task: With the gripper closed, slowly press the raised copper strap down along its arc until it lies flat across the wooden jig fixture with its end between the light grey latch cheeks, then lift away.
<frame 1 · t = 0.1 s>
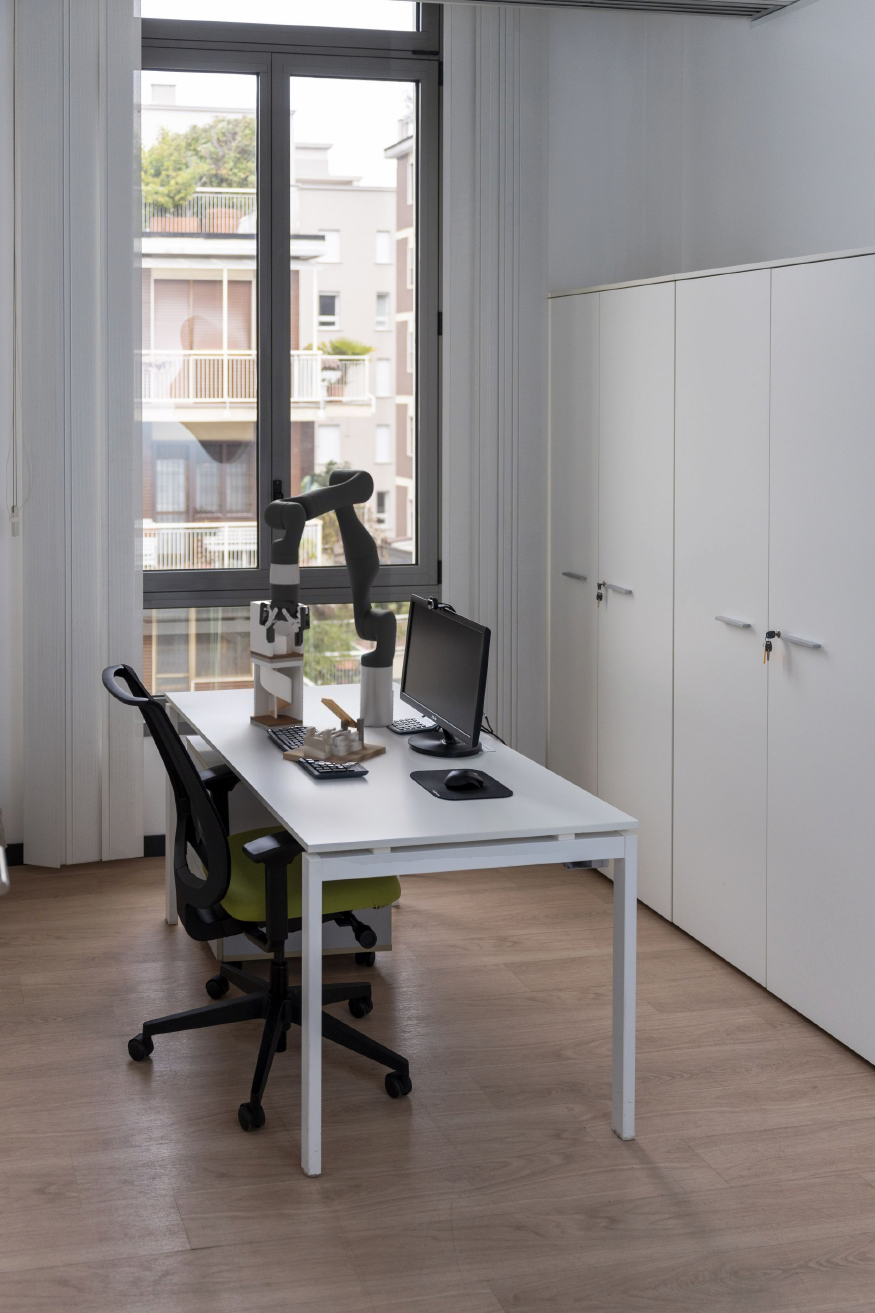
hand: (284, 644, 338), 29 cm above the table, tool pointing down, fingers open, 8 cm apart
display case: (276, 725, 377), on the table
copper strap: (340, 713, 344), point 11 cm above the table, hinge at 35.0°
wooden jig fixture: (335, 755, 344), on the table
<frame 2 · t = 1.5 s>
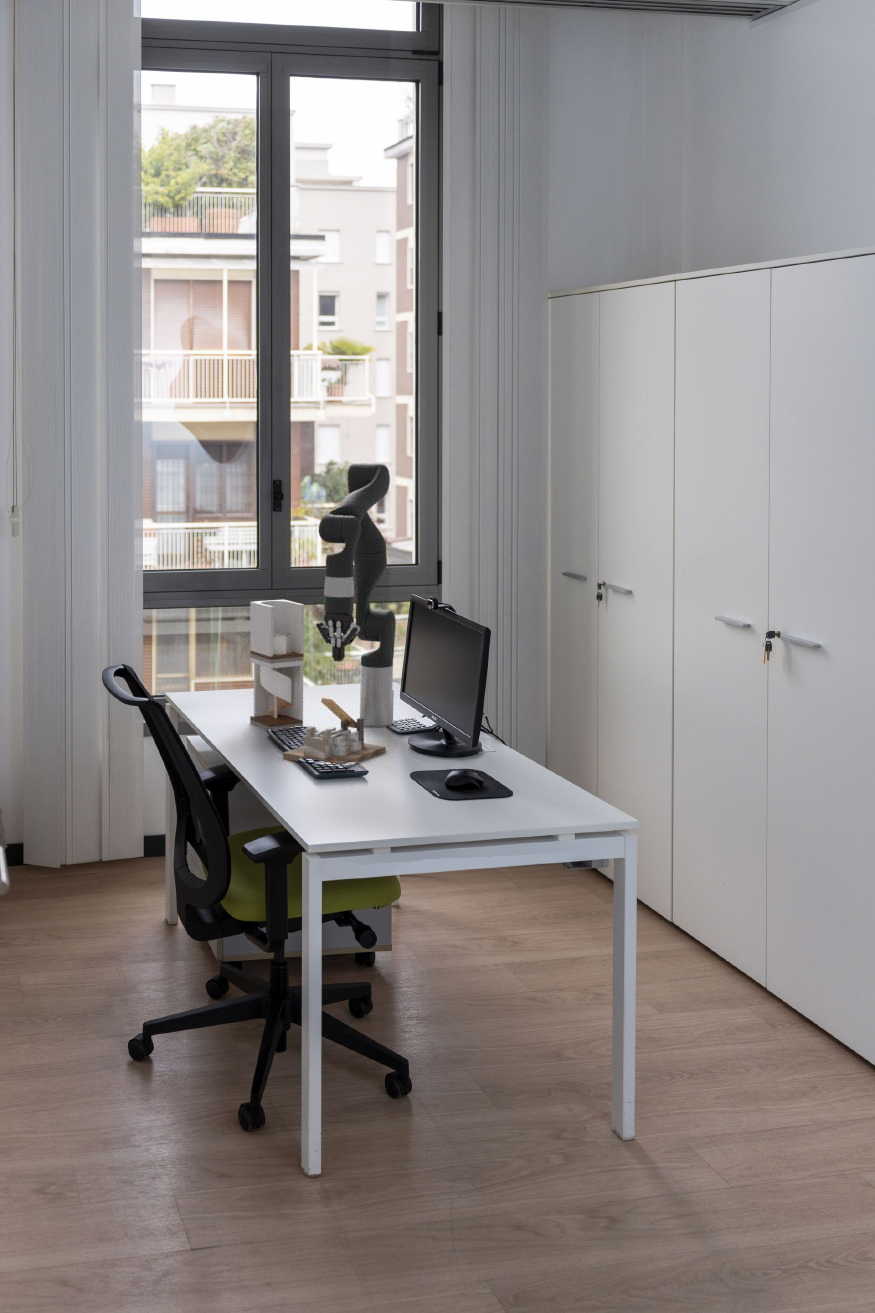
hand: (338, 660, 341), 25 cm above the table, tool pointing down, fingers closed
nothing on the table moved.
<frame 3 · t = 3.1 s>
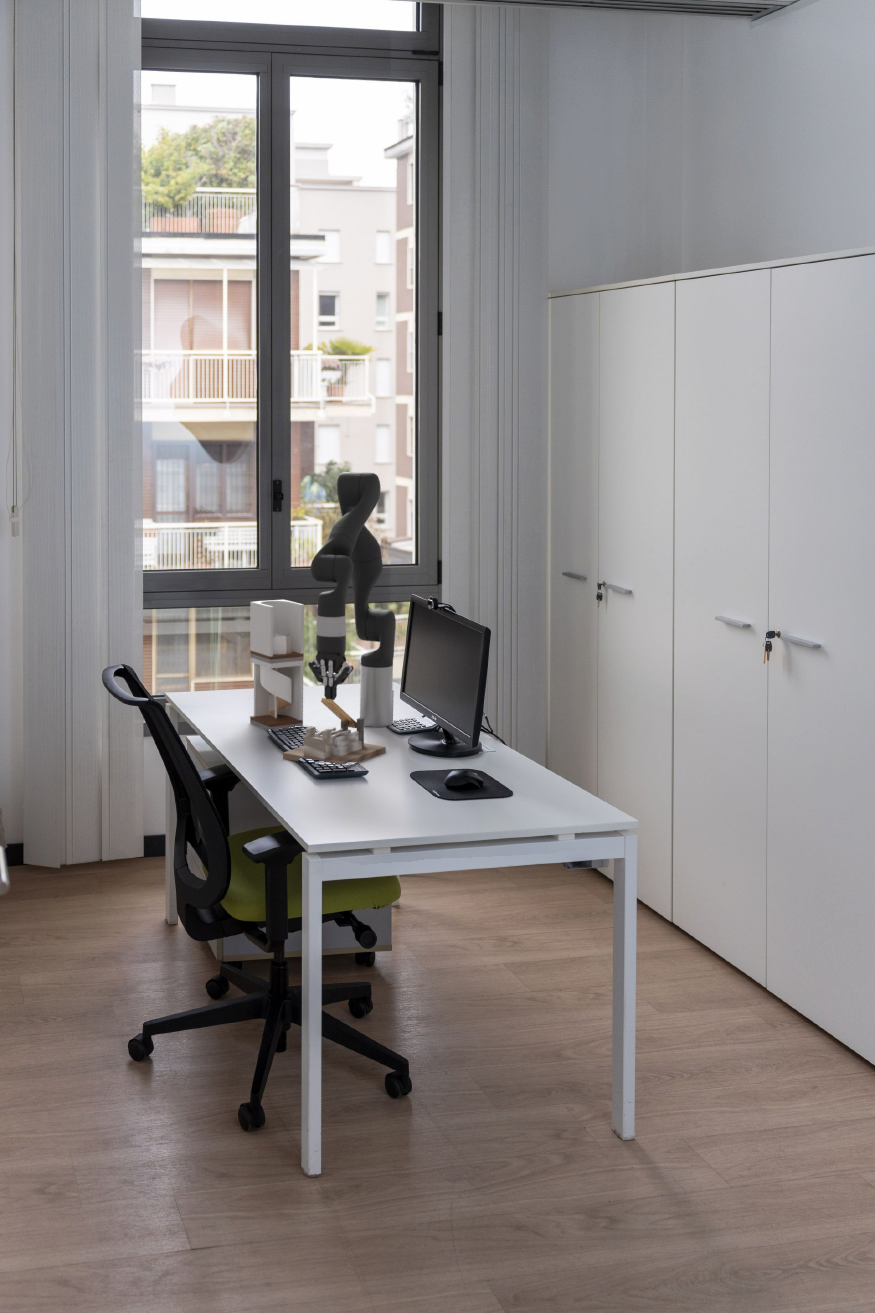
hand: (330, 699, 340), 15 cm above the table, tool pointing down, fingers closed
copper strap: (340, 713, 344), point 11 cm above the table, hinge at 35.0°, touching gripper
everything else where it was.
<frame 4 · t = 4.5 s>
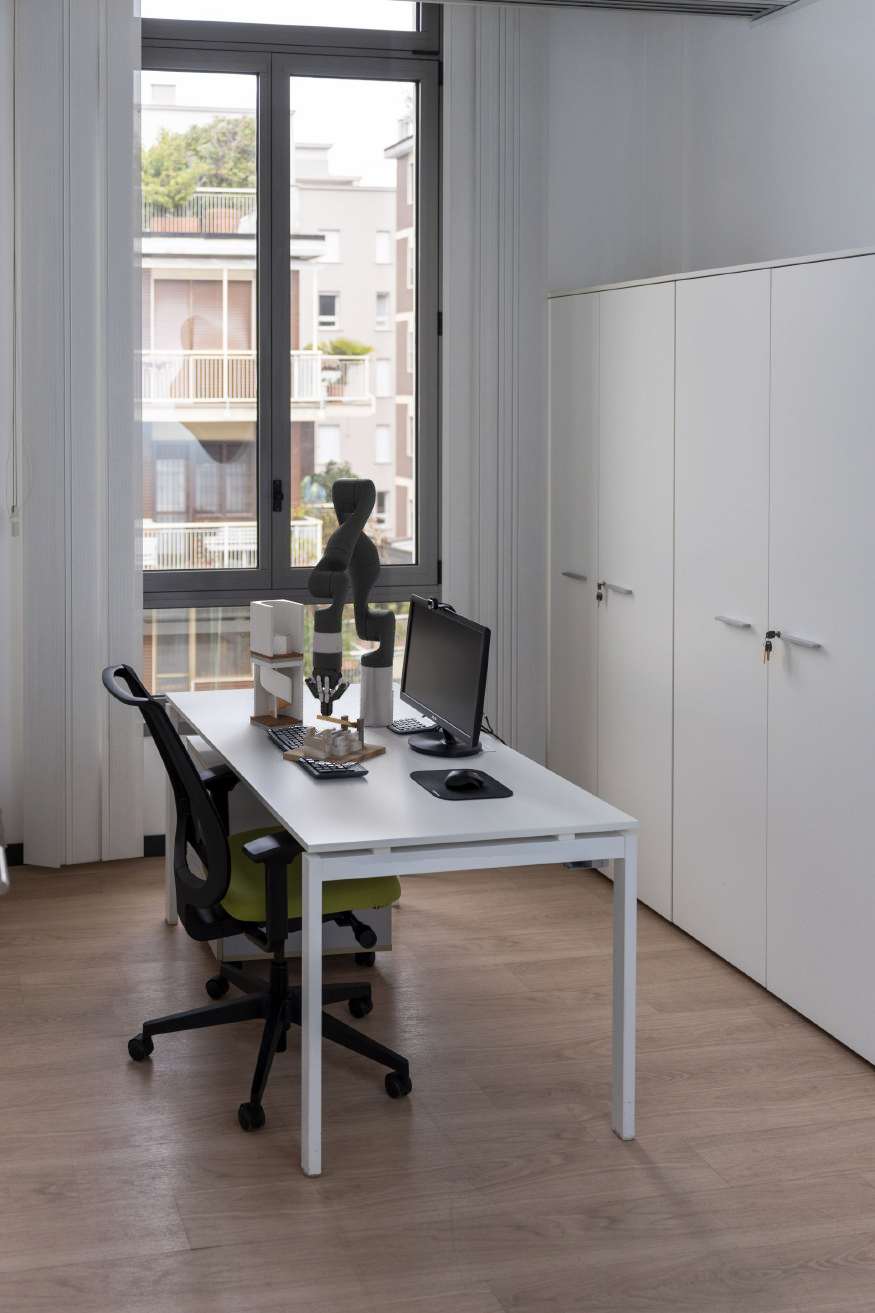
hand: (326, 716, 339), 11 cm above the table, tool pointing down, fingers closed
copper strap: (338, 721, 344), point 9 cm above the table, hinge at 17.6°, touching gripper
everything else where it was.
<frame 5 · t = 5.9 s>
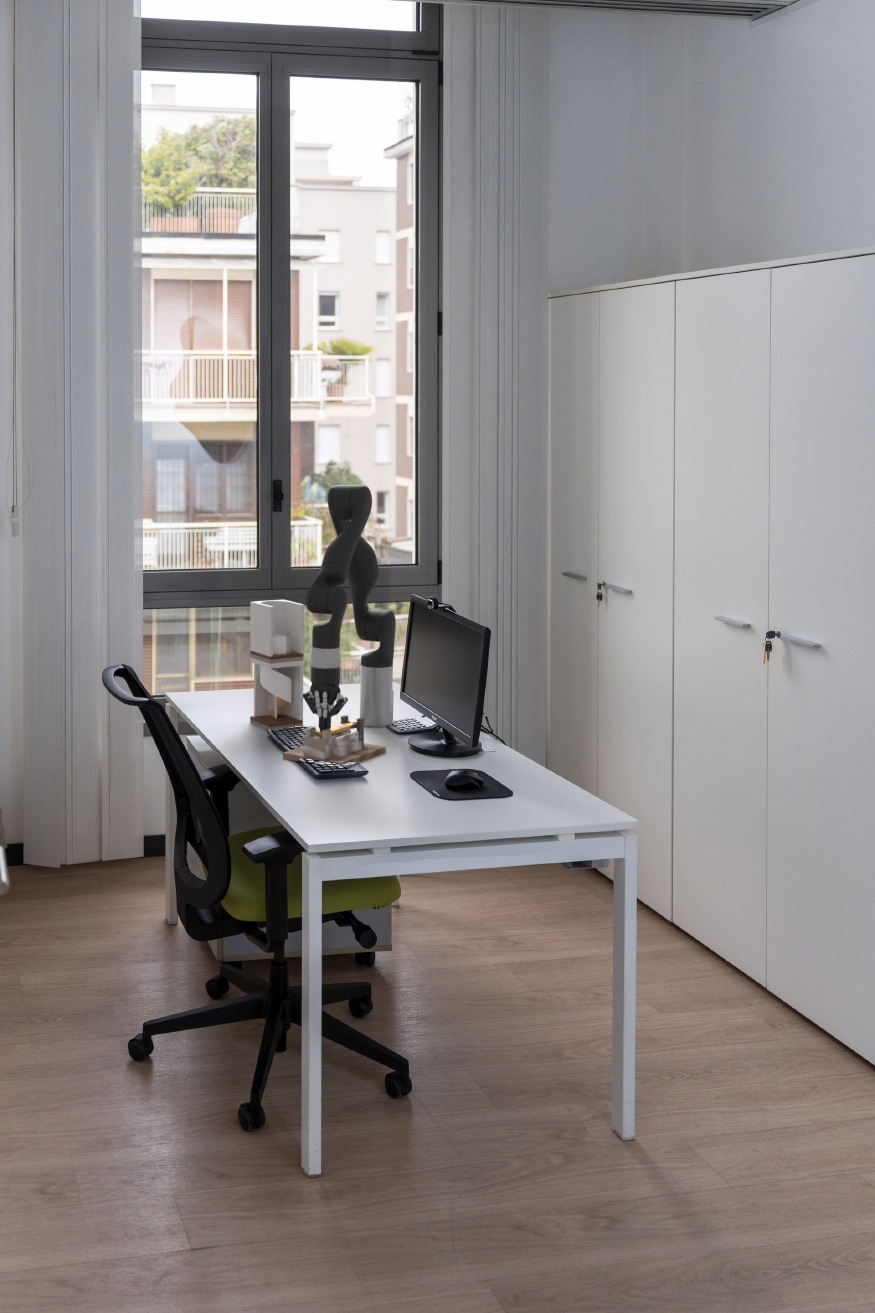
hand: (324, 731, 339), 7 cm above the table, tool pointing down, fingers closed
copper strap: (337, 729, 344), point 7 cm above the table, hinge at 1.1°, touching gripper
everything else where it was.
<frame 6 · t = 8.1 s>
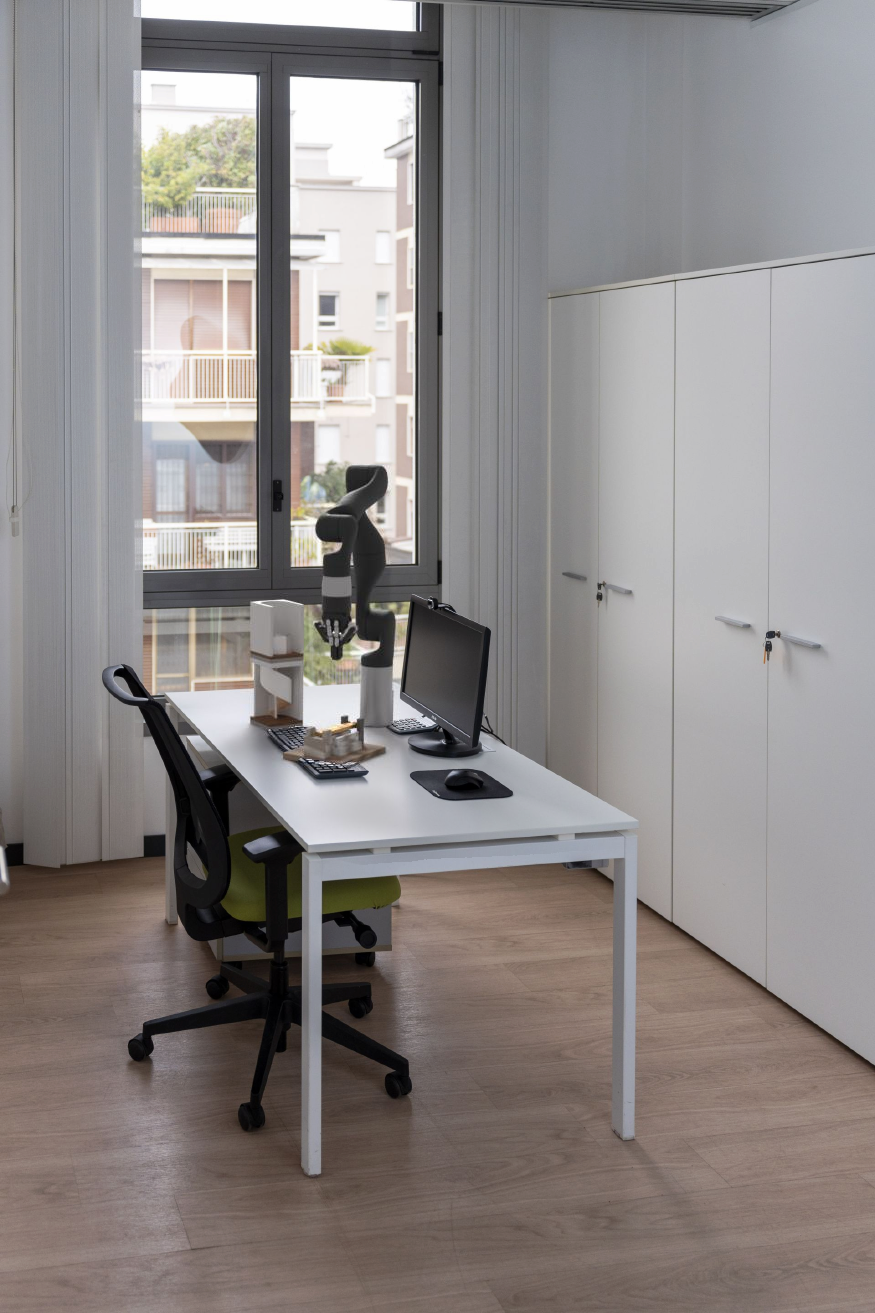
hand: (336, 659, 340), 25 cm above the table, tool pointing down, fingers closed
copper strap: (337, 729, 344), point 7 cm above the table, hinge at 1.0°
everything else where it was.
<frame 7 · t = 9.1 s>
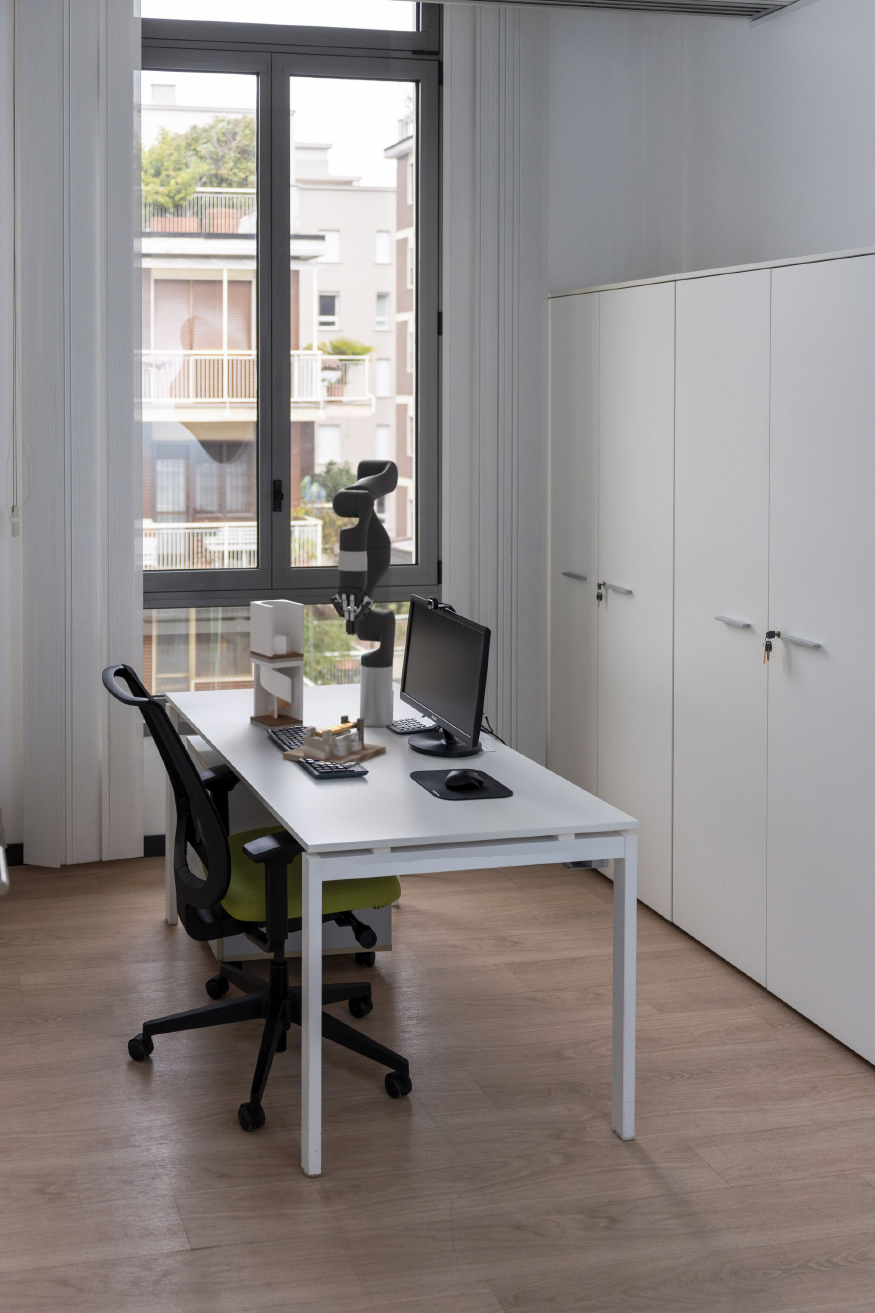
hand: (351, 634, 345), 31 cm above the table, tool pointing down, fingers closed
nothing on the table moved.
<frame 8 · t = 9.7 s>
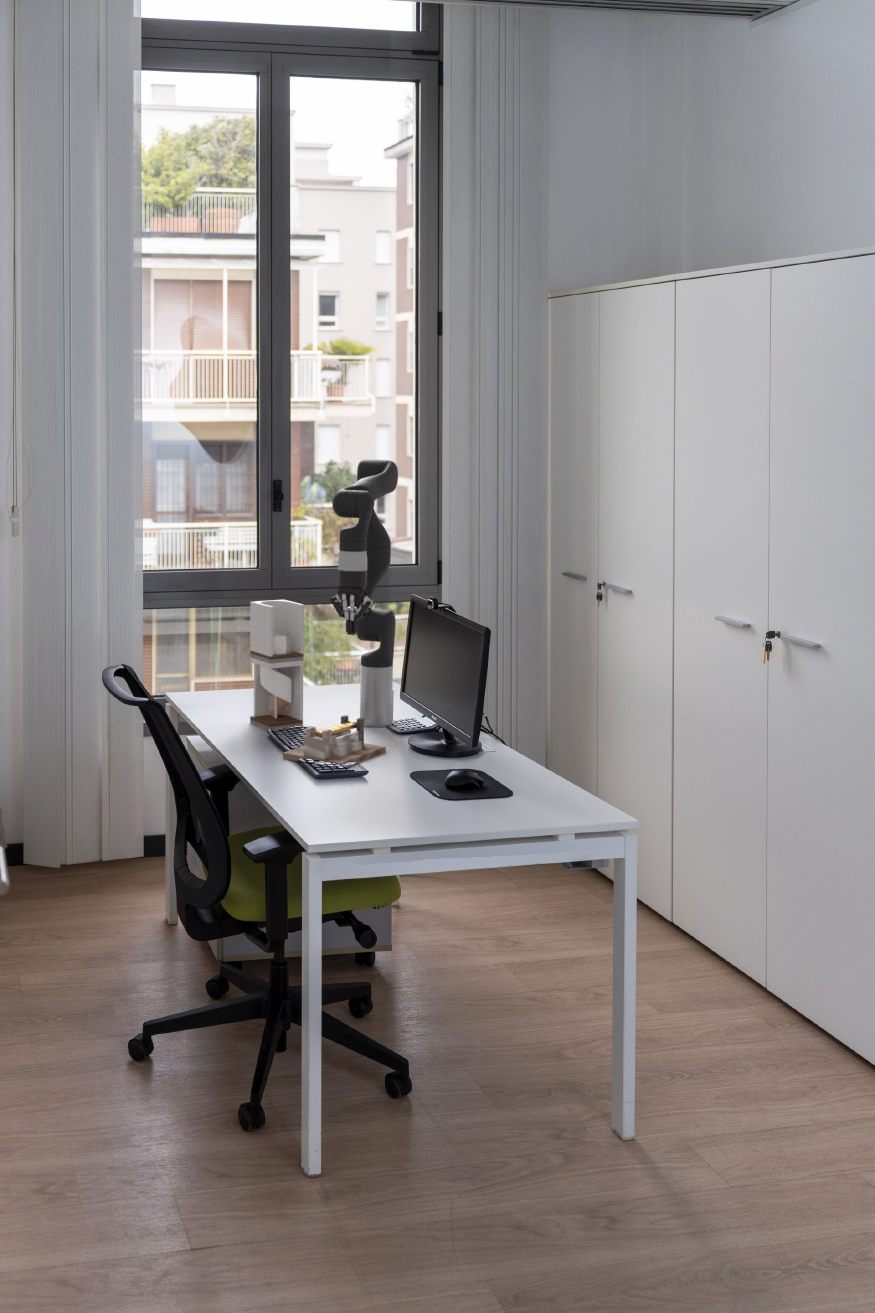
hand: (351, 634, 345), 31 cm above the table, tool pointing down, fingers closed
nothing on the table moved.
at the end: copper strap at +1° (first picture: +35°) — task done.
